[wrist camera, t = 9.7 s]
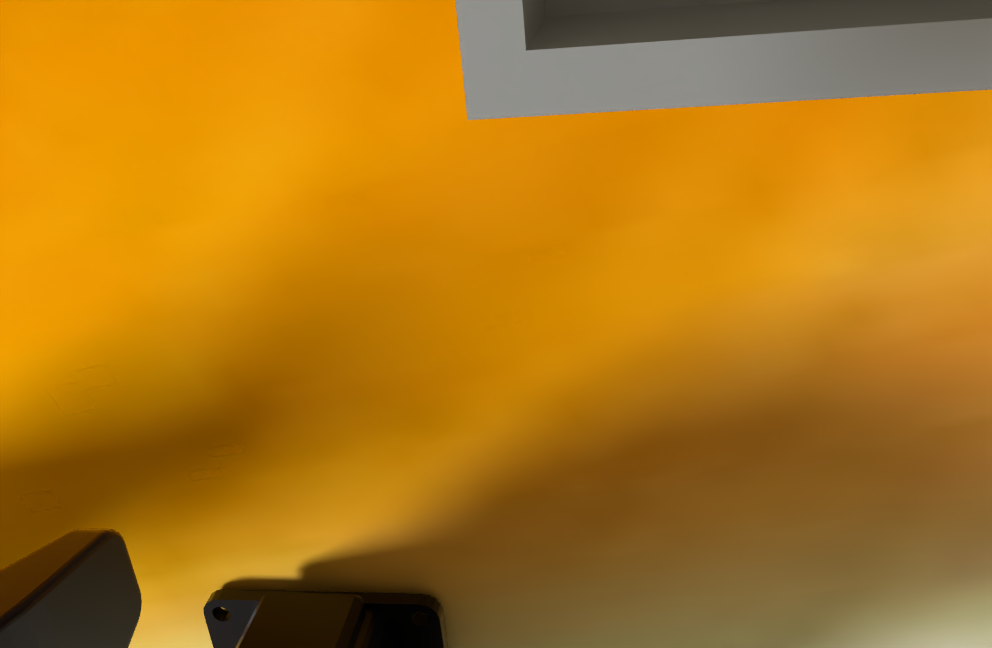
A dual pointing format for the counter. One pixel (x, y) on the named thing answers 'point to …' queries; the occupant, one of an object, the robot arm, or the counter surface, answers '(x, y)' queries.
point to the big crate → (713, 52)
